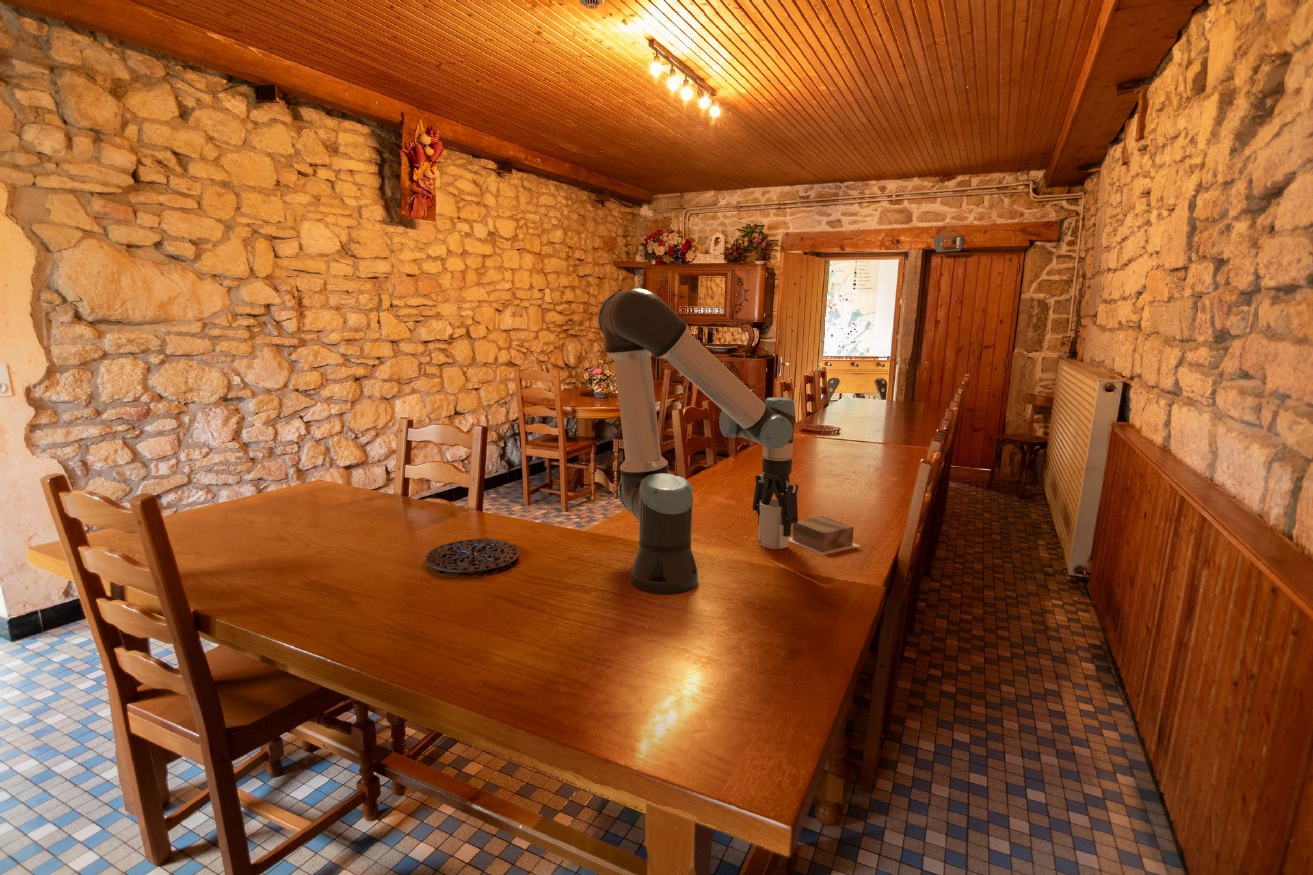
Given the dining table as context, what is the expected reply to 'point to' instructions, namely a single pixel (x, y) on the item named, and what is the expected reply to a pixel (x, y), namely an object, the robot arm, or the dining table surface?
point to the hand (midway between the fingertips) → (772, 542)
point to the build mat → (825, 551)
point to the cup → (770, 524)
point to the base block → (823, 533)
